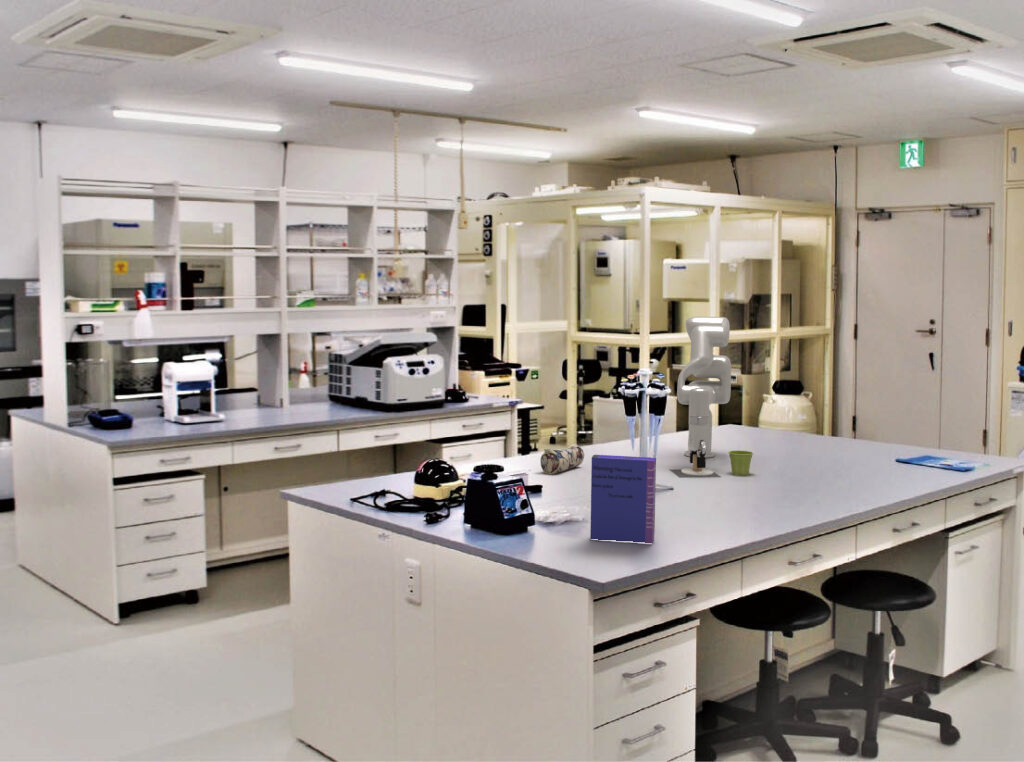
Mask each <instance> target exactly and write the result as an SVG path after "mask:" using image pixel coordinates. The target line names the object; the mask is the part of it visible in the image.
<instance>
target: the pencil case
mask: <svg viewBox="0 0 1024 762" xmlns="http://www.w3.org/2000/svg"><path fill="white" fill-rule="evenodd" d="M543 451H544V452H543V454H541V457H540V458H539V459H540V467H541V470H542V472H543V473H545V474H548V475H556V474H559V473H561V472H562V473H563V472H564V471H568V470H570V469H572V468H576V467H579V466H580V465H581V464H583V461H584V459H585V452H584V449H583V448H582V447H581V446H579V445H578V443H571V444H570V445H568V446H566V447H563V448H560V449H559V448H558V449H551V448H544V449H543Z"/></svg>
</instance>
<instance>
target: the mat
mask: <svg viewBox="0 0 1024 762" xmlns="http://www.w3.org/2000/svg"><path fill="white" fill-rule="evenodd" d="M682 469H683V468H681V469H677V468H676V469H674V468H673V469H672V468H671V469H668V471H670V472H672V473H673V474H674V475H675V476H677V477H678V478H680V479H681V478H691V479H692V478H693V479H694V478H695V479H696V478H722V476H720V475H719V474H717V473H716V472H715V471H714V472H713V475H710V476H690V475H685V474H682V473H681V470H682Z"/></svg>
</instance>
